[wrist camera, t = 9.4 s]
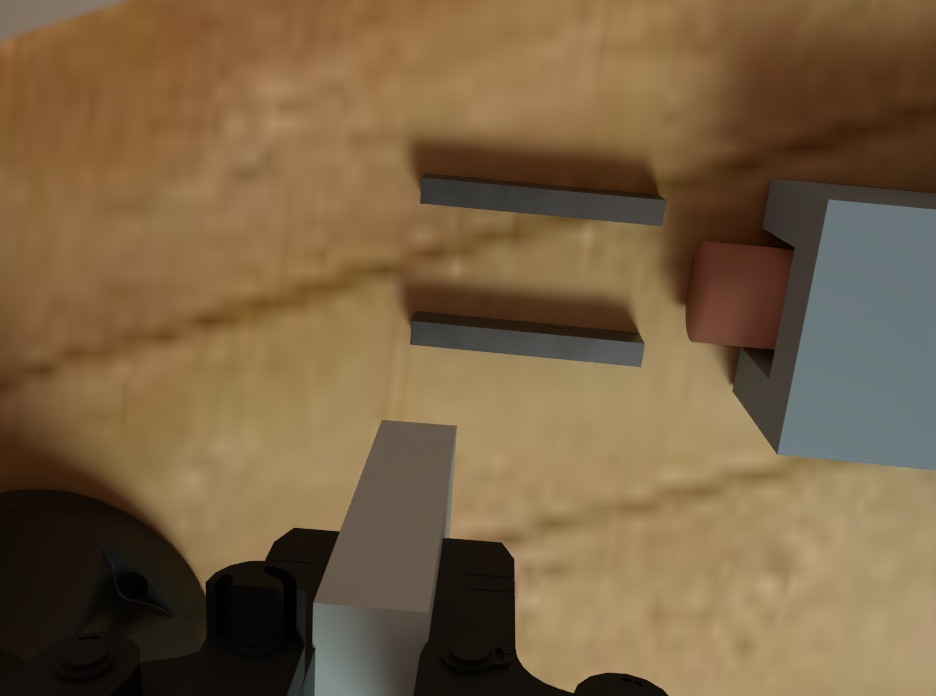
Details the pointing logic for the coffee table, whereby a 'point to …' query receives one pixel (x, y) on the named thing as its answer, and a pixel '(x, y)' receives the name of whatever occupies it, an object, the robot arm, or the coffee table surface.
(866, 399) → the block
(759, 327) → the dowel
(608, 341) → the rails
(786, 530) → the coffee table surface
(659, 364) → the coffee table surface
